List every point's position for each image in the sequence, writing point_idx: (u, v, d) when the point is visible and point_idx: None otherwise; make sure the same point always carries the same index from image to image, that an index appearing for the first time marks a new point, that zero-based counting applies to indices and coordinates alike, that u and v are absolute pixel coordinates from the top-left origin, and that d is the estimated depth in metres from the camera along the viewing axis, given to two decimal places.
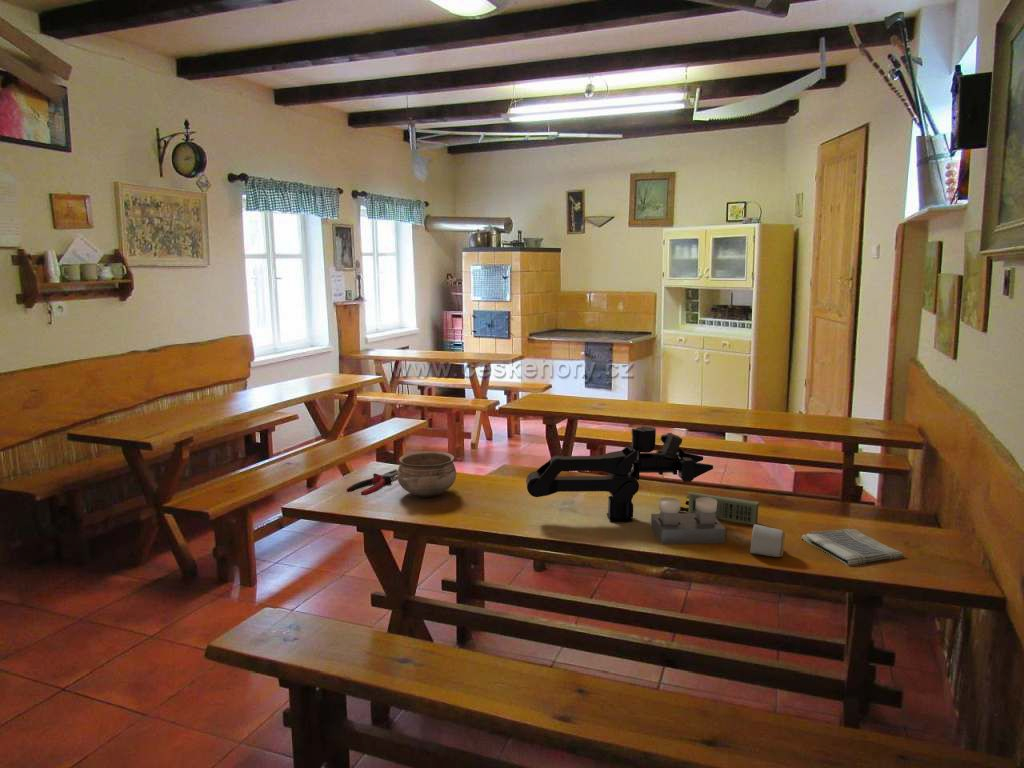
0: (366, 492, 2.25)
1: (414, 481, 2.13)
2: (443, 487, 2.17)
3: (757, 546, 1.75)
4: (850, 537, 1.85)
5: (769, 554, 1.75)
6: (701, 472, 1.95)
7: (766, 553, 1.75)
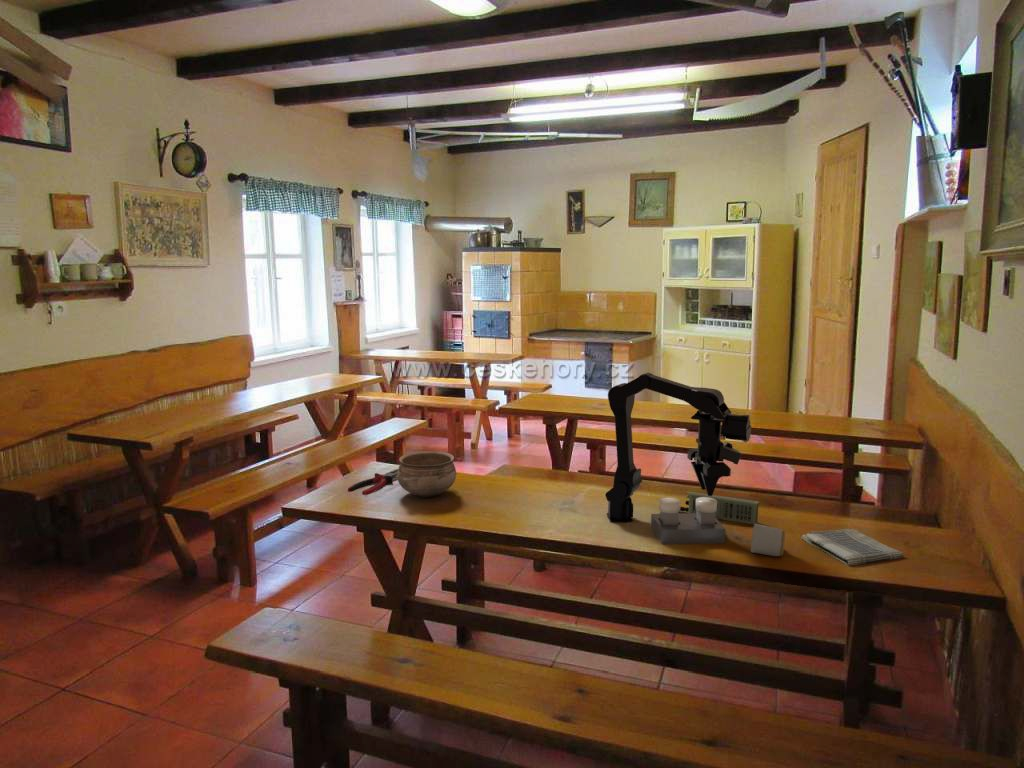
0: (367, 492, 2.26)
1: (414, 481, 2.13)
2: (443, 487, 2.17)
3: (757, 546, 1.75)
4: (850, 537, 1.85)
5: (769, 553, 1.75)
6: (707, 484, 1.84)
7: (766, 552, 1.75)
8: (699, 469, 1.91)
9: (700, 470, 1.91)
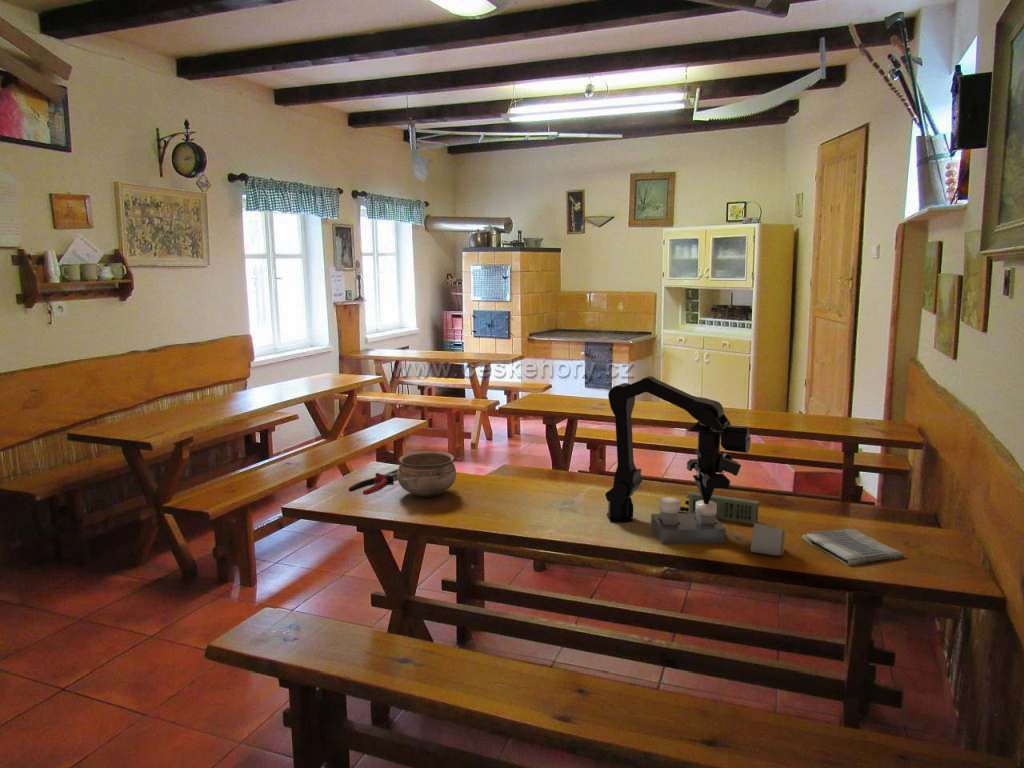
0: (368, 491, 2.26)
1: (414, 481, 2.13)
2: (443, 487, 2.17)
3: (757, 545, 1.75)
4: (851, 537, 1.85)
5: (769, 553, 1.75)
6: (704, 492, 1.87)
7: (766, 552, 1.75)
8: None
9: None
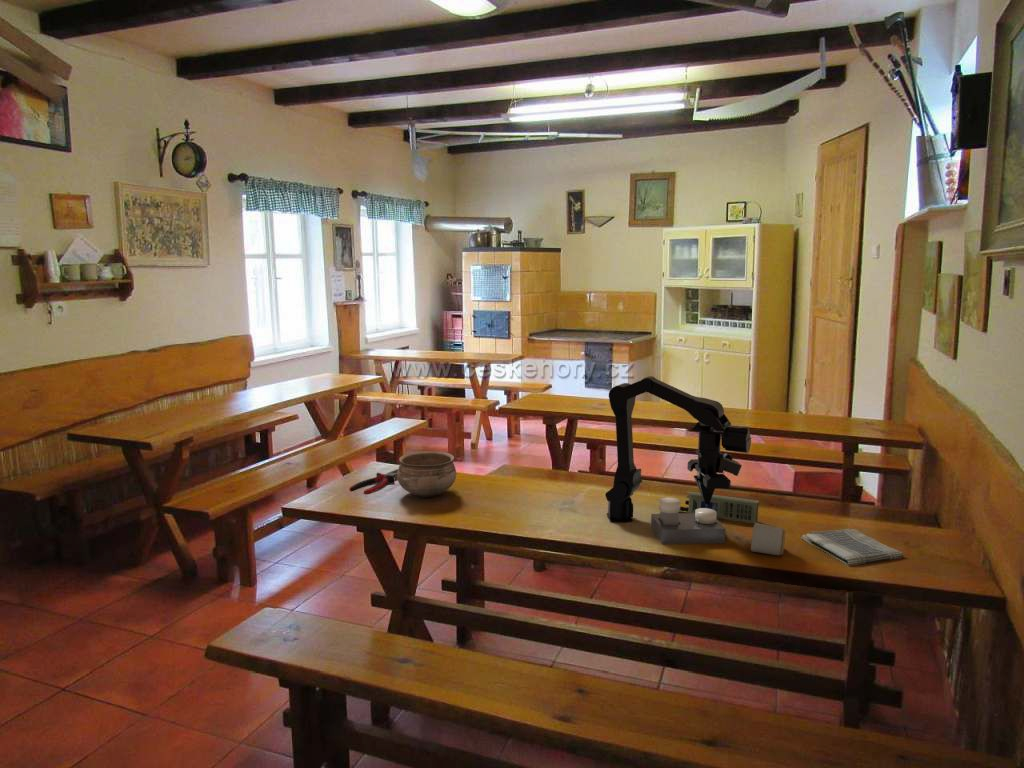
0: (369, 491, 2.26)
1: (414, 481, 2.13)
2: (443, 487, 2.17)
3: (757, 544, 1.76)
4: (851, 537, 1.85)
5: (769, 552, 1.76)
6: (704, 492, 1.87)
7: (766, 551, 1.76)
8: None
9: None
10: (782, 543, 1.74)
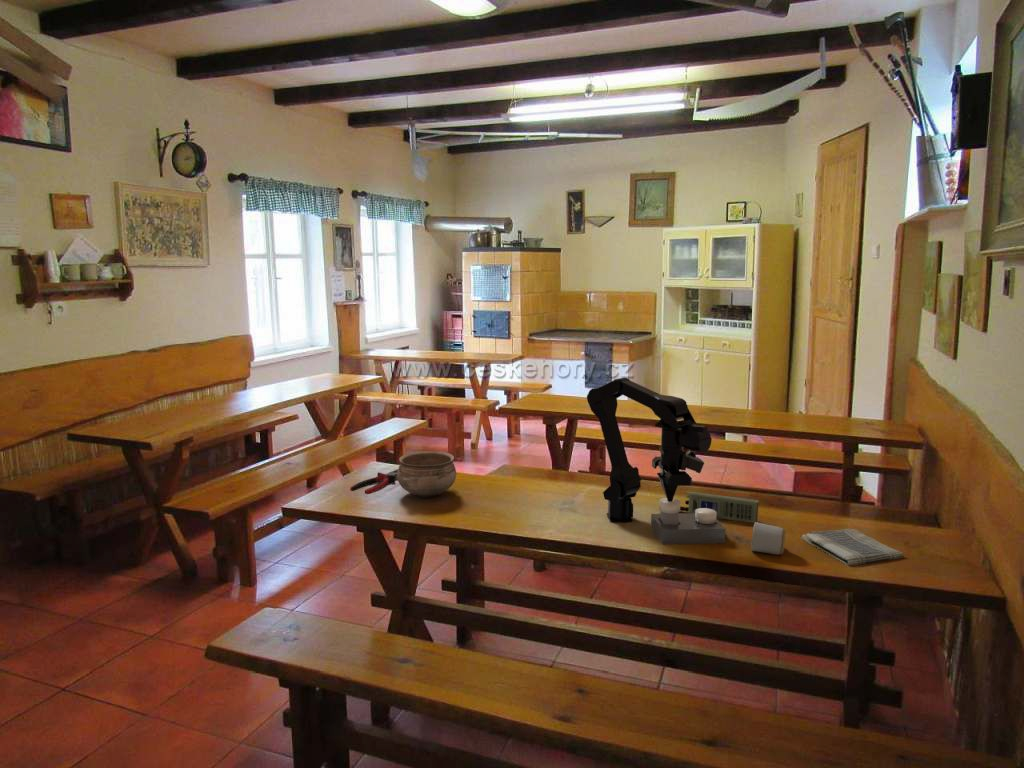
0: (369, 491, 2.27)
1: (414, 481, 2.13)
2: (443, 487, 2.17)
3: (757, 544, 1.76)
4: (851, 537, 1.85)
5: (770, 551, 1.76)
6: (667, 490, 1.86)
7: (767, 550, 1.76)
8: None
9: None
10: (782, 542, 1.74)
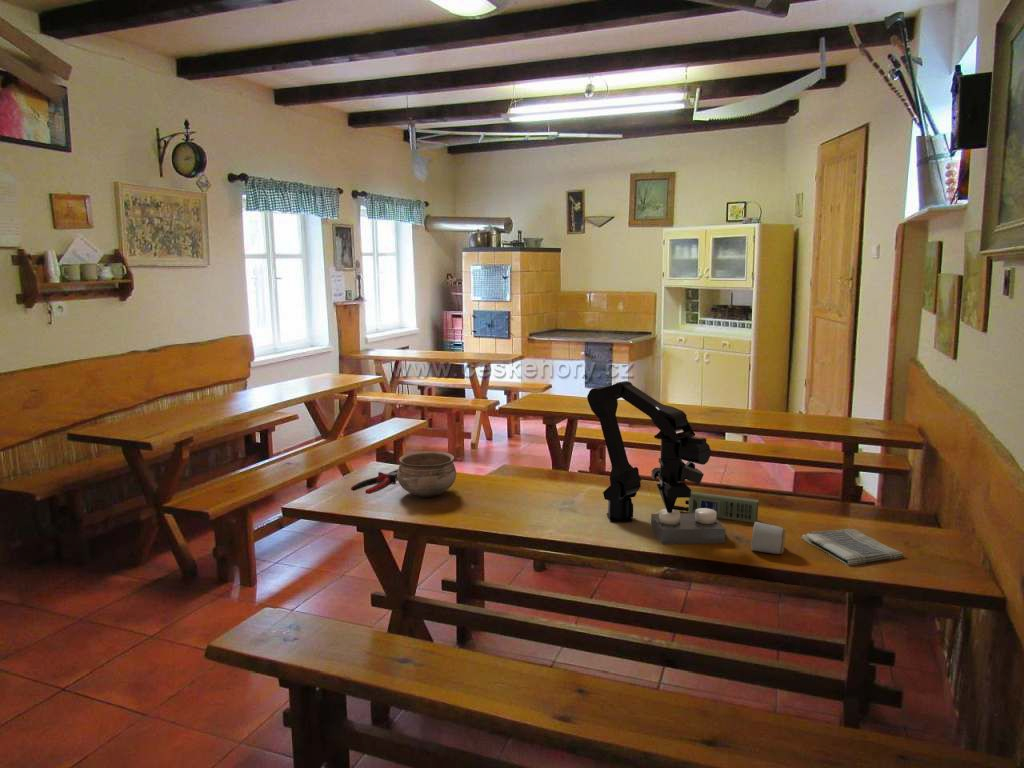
0: (370, 490, 2.27)
1: (414, 481, 2.13)
2: (443, 487, 2.17)
3: (757, 543, 1.76)
4: (851, 537, 1.85)
5: (770, 551, 1.76)
6: (667, 501, 1.87)
7: (767, 550, 1.76)
8: None
9: None
10: (782, 542, 1.74)
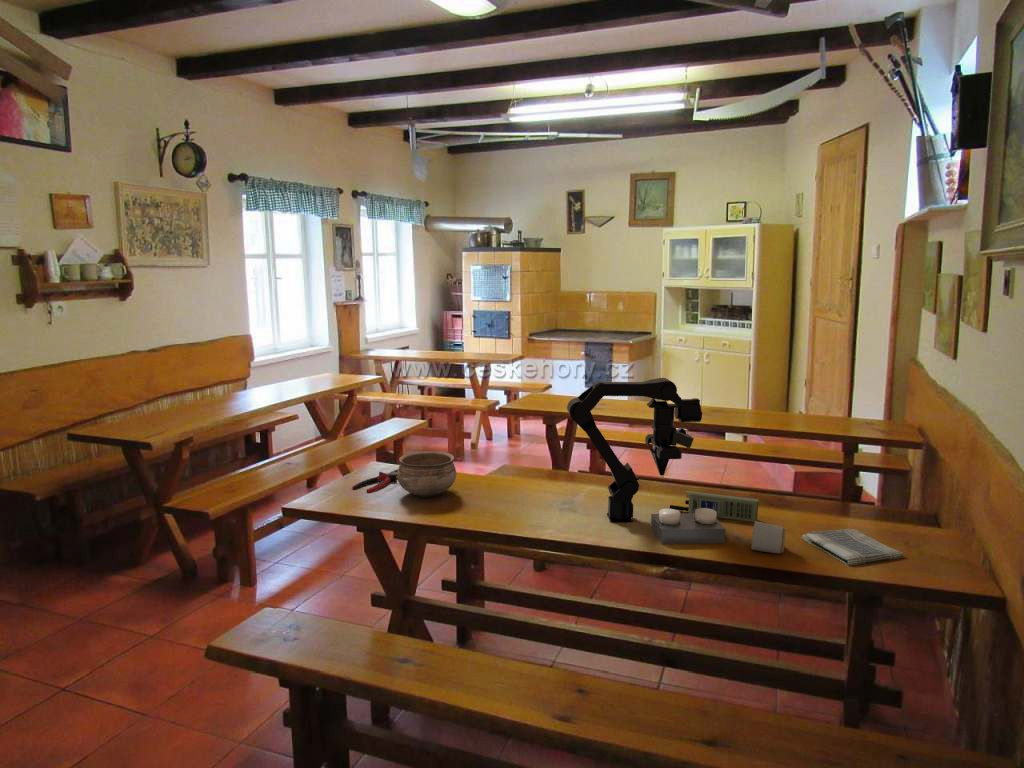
0: (371, 490, 2.27)
1: (414, 481, 2.13)
2: (443, 487, 2.17)
3: (758, 543, 1.77)
4: (851, 537, 1.85)
5: (770, 550, 1.77)
6: (659, 464, 1.99)
7: (767, 549, 1.77)
8: None
9: None
10: (782, 541, 1.75)
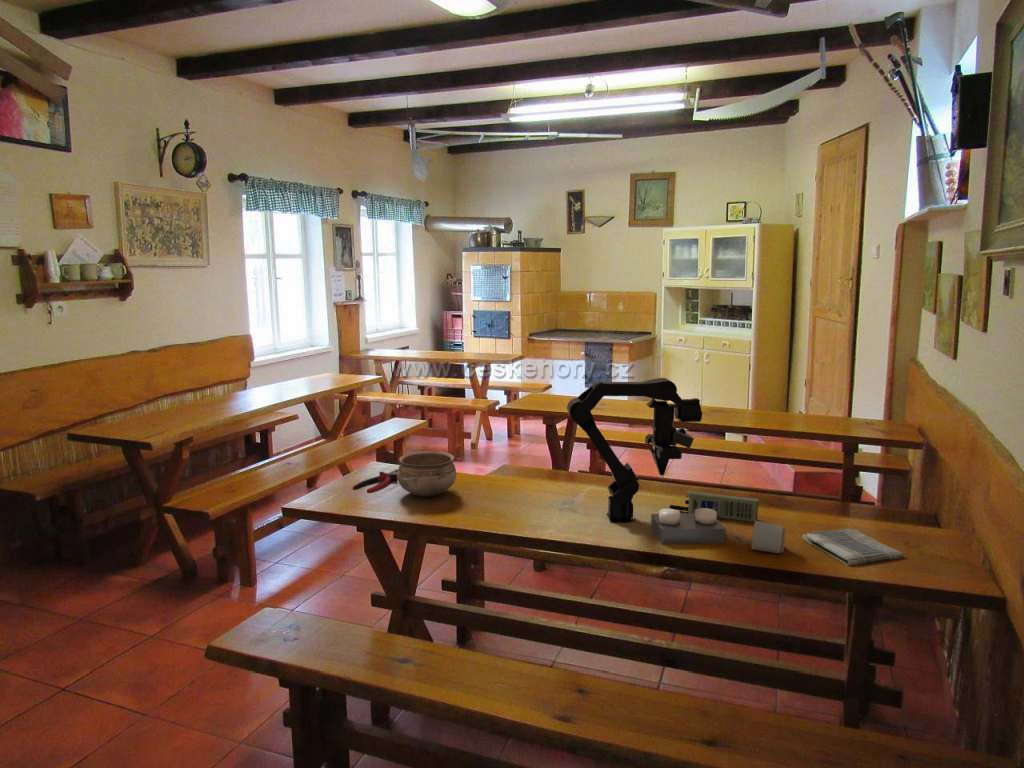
0: (372, 490, 2.27)
1: (414, 481, 2.13)
2: (443, 487, 2.17)
3: (758, 542, 1.77)
4: (851, 537, 1.85)
5: (770, 550, 1.77)
6: (659, 464, 1.99)
7: (767, 549, 1.77)
8: None
9: None
10: (782, 541, 1.75)
